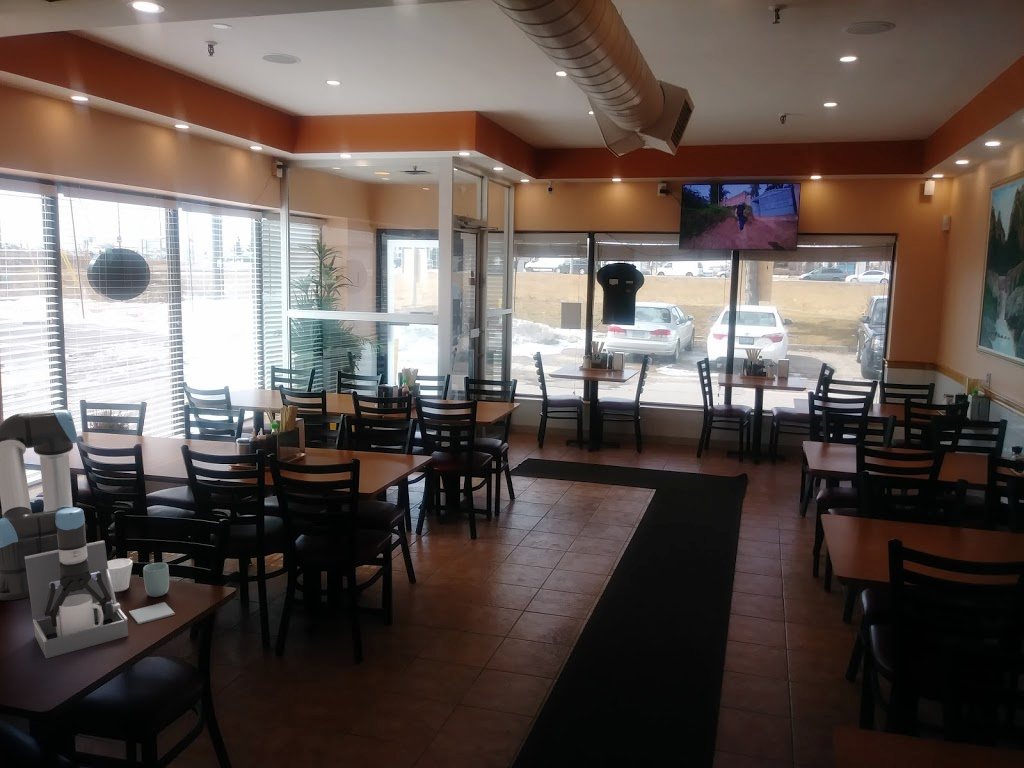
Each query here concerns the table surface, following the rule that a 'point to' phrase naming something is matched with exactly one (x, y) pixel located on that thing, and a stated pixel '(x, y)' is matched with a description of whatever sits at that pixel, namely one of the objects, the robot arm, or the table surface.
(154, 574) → the cup
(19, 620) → the table surface
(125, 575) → the cup
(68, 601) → the mug
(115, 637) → the case
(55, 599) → the lid
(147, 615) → the pad
